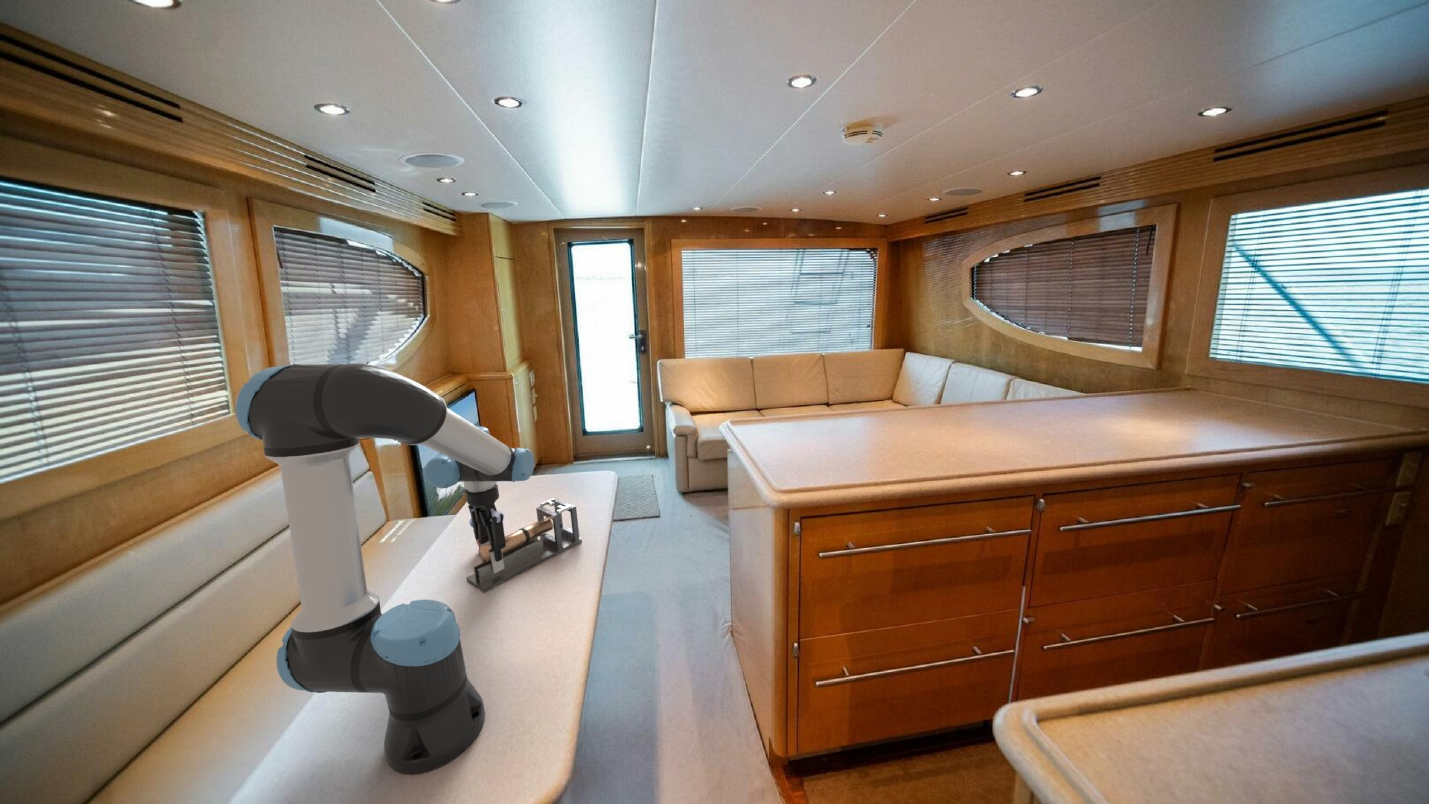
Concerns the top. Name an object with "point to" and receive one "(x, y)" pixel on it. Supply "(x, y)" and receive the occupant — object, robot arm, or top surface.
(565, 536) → the collar rail
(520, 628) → the top surface
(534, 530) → the tan wooden rod
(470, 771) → the top surface
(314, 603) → the robot arm
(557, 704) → the top surface
